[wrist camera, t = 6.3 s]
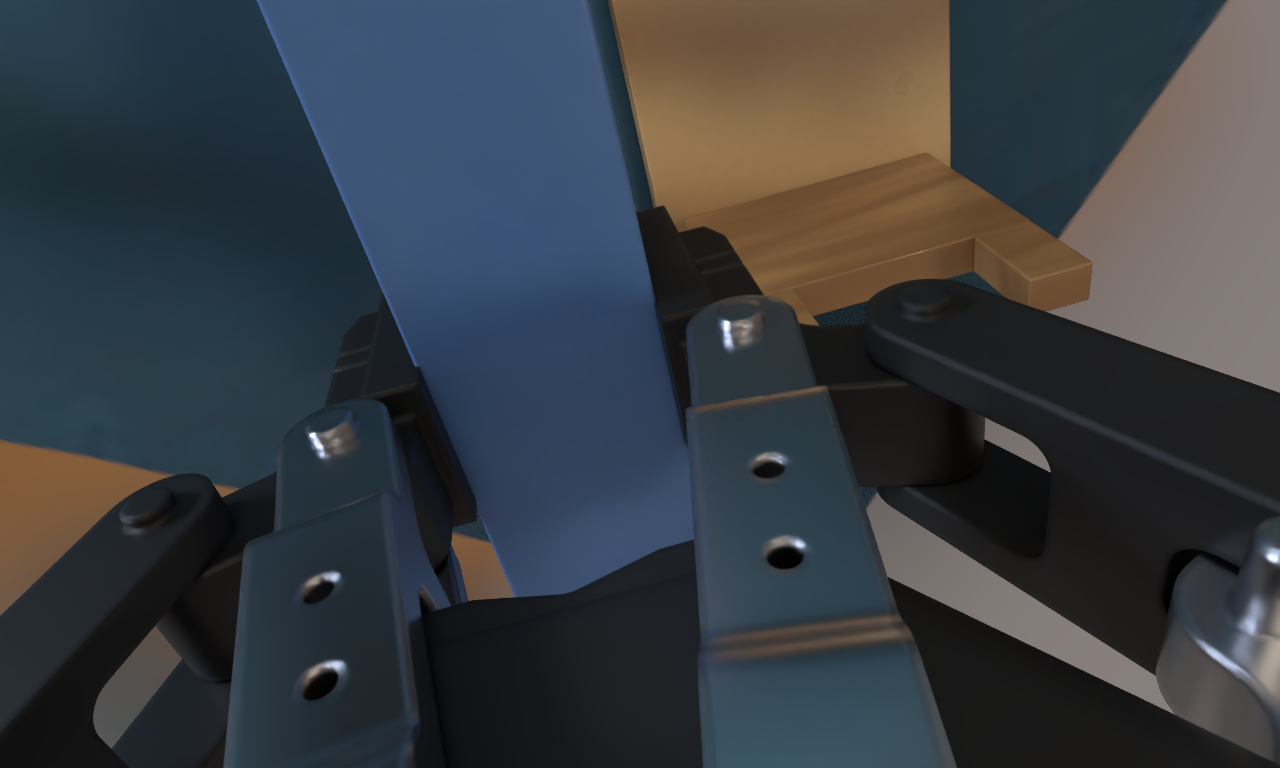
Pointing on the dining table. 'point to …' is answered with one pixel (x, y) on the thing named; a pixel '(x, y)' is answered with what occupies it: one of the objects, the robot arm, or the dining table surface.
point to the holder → (824, 149)
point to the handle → (506, 263)
